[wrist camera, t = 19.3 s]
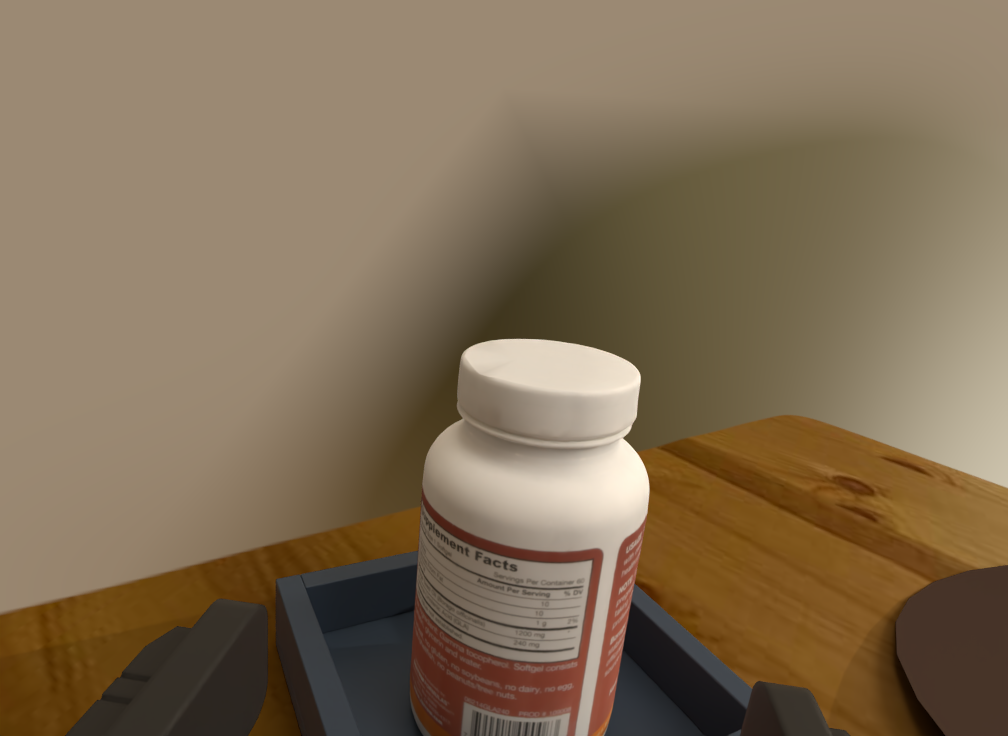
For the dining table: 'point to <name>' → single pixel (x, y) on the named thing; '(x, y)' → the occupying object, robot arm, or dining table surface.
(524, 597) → the pill bottle
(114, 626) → the dining table surface
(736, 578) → the dining table surface
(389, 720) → the tray
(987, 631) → the plate
